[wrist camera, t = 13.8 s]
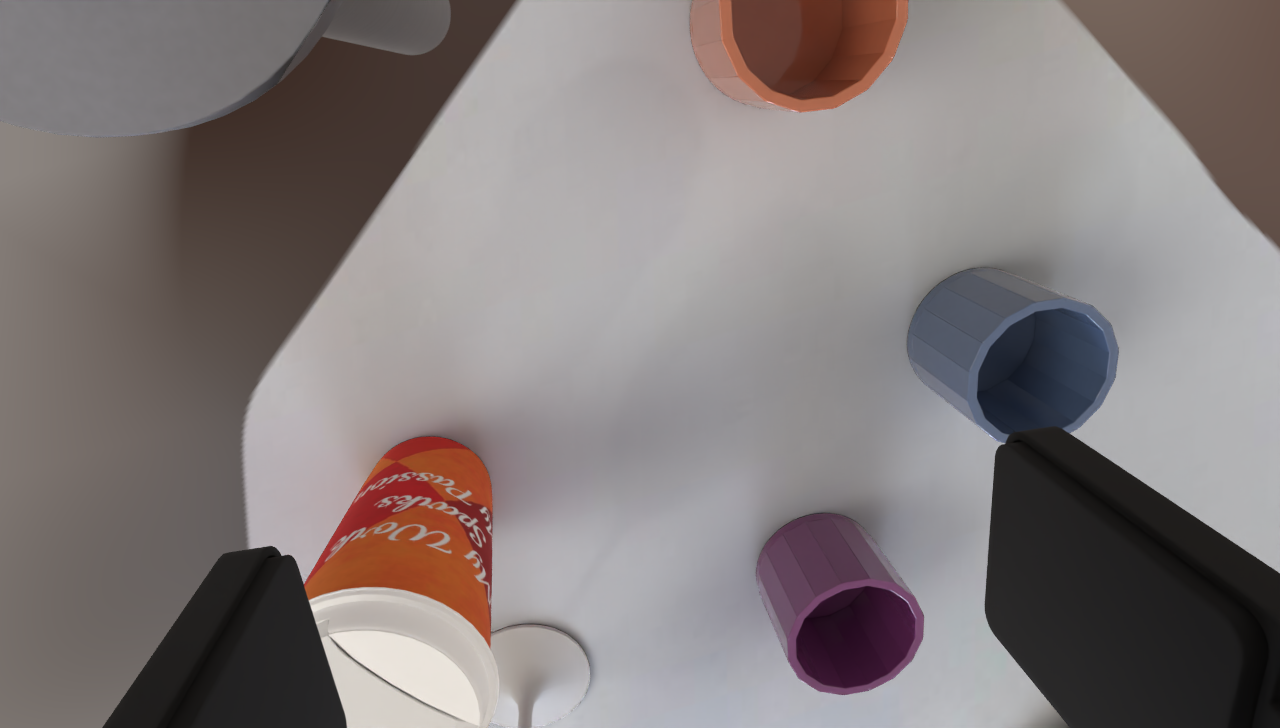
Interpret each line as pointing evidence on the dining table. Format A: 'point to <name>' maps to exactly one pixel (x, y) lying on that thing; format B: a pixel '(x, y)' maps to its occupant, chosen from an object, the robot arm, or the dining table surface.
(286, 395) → the dining table surface
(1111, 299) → the dining table surface
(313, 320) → the dining table surface
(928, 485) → the dining table surface
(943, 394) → the blue faceted cup
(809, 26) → the terracotta cup
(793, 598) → the plum cup
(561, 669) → the wineglass
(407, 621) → the coffee cup
